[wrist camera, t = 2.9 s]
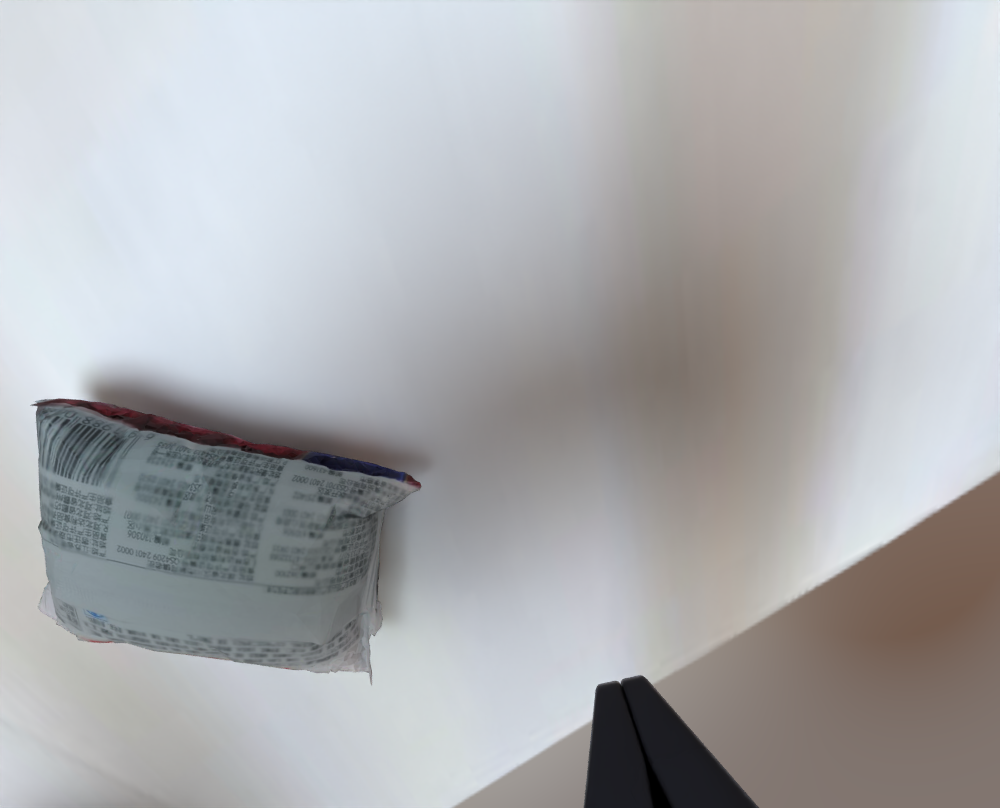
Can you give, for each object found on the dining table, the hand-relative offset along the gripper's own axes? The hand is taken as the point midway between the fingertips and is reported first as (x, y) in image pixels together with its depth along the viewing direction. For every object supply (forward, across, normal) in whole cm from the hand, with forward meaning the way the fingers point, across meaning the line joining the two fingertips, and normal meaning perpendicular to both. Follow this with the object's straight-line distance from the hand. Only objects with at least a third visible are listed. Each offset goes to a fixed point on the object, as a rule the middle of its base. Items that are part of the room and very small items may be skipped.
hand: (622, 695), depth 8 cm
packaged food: (+10, +11, 0) cm, 15 cm away
